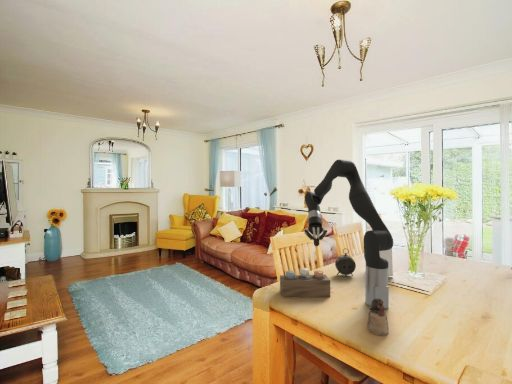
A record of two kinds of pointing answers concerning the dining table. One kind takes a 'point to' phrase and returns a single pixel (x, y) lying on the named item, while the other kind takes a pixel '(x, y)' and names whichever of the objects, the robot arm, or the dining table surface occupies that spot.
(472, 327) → the dining table surface
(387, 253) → the milk
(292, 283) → the button console
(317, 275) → the terracotta button
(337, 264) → the alarm clock
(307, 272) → the cream button
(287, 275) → the slate button
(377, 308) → the figurine
